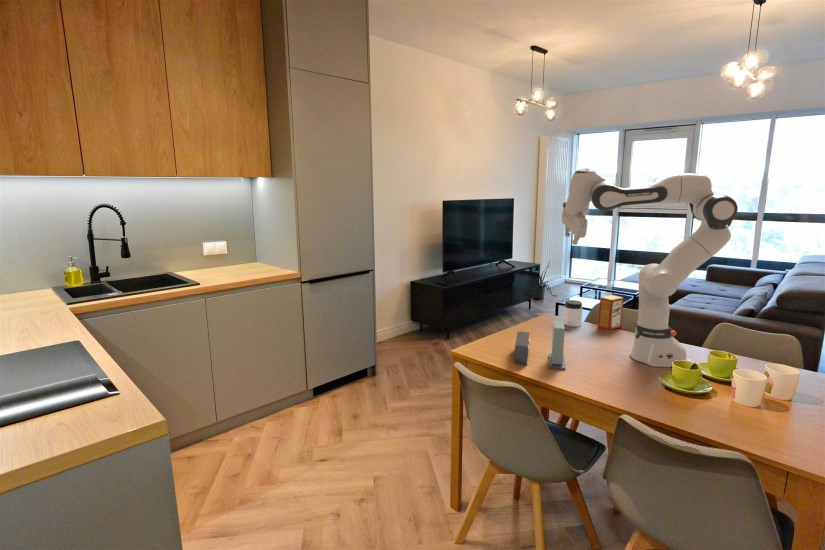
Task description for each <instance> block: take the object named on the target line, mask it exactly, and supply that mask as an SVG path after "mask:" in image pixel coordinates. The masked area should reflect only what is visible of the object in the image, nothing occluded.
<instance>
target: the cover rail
mask: <svg viewBox="0 0 825 550" xmlns="http://www.w3.org/2000/svg"><path fill="white" fill-rule="evenodd" d="M565 361H566V360H565V356H564V354H563V364H562V365H558V364H552V353H548V369H550V370H559V371H566V362H565Z"/></svg>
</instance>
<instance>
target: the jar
mask: <svg viewBox="0 0 825 550" xmlns="http://www.w3.org/2000/svg"><path fill="white" fill-rule="evenodd" d="M562 317H563V319H562V322H564V326H567V327H574V328H575V327H580V326H582V318H583V302H582V301H579V300H577V299H576V300H574V299H573V300H572V299H568V300H565V302H564V306H563V315H562Z"/></svg>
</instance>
